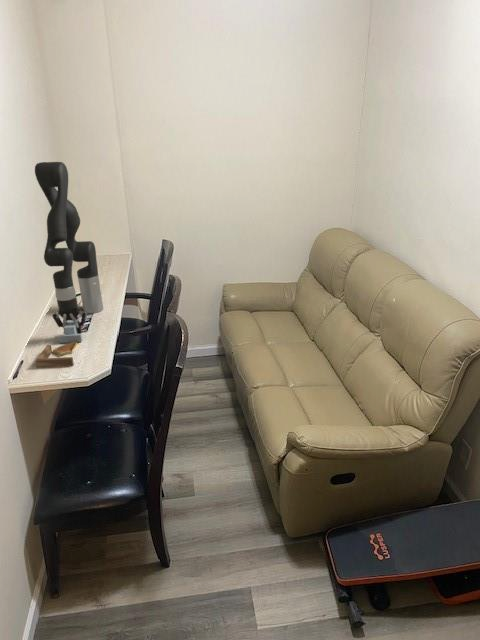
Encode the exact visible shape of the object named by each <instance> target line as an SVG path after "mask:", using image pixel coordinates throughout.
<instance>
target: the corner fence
mask: <svg viewBox="0 0 480 640" xmlns="http://www.w3.org/2000/svg"><path fill="white" fill-rule="evenodd" d="M52 353H53V348H52V345H51V344H47V345H45V347H44V348H43V350H42V351H41V352H40V353H39V355H38V356H37V358H36V359H35V365H36V366H35V367H36V368H37V369H45V368H61V367H63V368H64V367H73V366H74V365H75V364H74V357H73V356H67V357H66V356H65V357H50V356H51V354H52Z"/></svg>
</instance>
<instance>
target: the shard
mask: <svg viewBox="0 0 480 640" xmlns="http://www.w3.org/2000/svg"><path fill="white" fill-rule="evenodd" d="M78 343H79V342H78V340H77V341H74V342H68V343H64V344H62V345H59V346H58V347H55V348H52V353H53V354H57V356H59V357H62V356H67V355H72V354H73V351H74V350H75V349H76V347H77V345H78Z"/></svg>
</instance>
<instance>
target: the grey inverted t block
mask: <svg viewBox="0 0 480 640" xmlns="http://www.w3.org/2000/svg"><path fill="white" fill-rule="evenodd" d="M64 331H65V333H64V334H58V335H57V339H58V343H59V344H68V343H72V342H74V341H77V340H78V342H77V343H81V342H82V341H83V335H82V333H81V334H77V329H76V324H75V323H74V322H73V320H68V322H67V324H66V325H65V327H64V328H63V332H64Z"/></svg>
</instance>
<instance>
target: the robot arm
mask: <svg viewBox="0 0 480 640" xmlns="http://www.w3.org/2000/svg"><path fill="white" fill-rule="evenodd" d="M34 175H35V178H36V181H37V183H38V185H39V187H40V189H41V190H42V192H43V193H44V196H45V198H46V199H47V201H48V203H49V206H50V207H51V208H50V211H48V214H47V219H46V229H47V230H46V231H47V240H46V245H45V249H44V253H43V260H44V262H45V264H46V265H47V266H48V267H63V269H61V270H58V271H55V272H53V274H52V279H53V284H54V291H55V292H54V293H55V297H56V301H57V302H56V304H57V308H58V311H57V312H53V313H52V315H51V316H52V318H53V320H54V322H55V323H56V325H57V326H58V327H59V328H62V329H64V327H65V325H66V324H67V322H68V321H69V320H73V322H74V323H75V324H76V329H77V334H81V335H82V332H83V331H82V327H83V326H84V325H85V323H86V320H87V319H86V318H87V314H95V313H99V312H102V311H103V310H104V303H103V297H102V291H101V284H100V279H99V271H98V269H99V268H98V263H97V262H98V261H97V251H96V246H95V243H94V242H93V241H88V240H87V241H85V240H84V241H77V240H76V234H77V232H78V230H79V227H80V225H81V218H80V215H79V212H78V209H77V208H76V206H75V205H74V203H72V202H71V200H69V199H68V194H69V193H68V192H69V171H68V168H67V165H66V164H65V162H62V161H45V162H44V161H43V162H37V163H36V164H35V165H34ZM63 242H65V243H66V247H57V245H58V244H59V243H63ZM73 262H76V263H87V265H85V266H84V267H82V268H79V269H78V270H77V271H76V273H77V274H76V275H77V280H78V281H77V282H78V285H79V286H78V287H79V292H80V298H81V303H82V304H81V305H82V310H83V311H82V310H80V308H79V305H78V304H79V303H78V299H77V294H76V289H75V285H74V281H73V275H72V274H73ZM79 315H80V317H81V319H79ZM60 316H61V318H62V319H61V318H60ZM63 333H64V334H65V331H64V330H63Z"/></svg>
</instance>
